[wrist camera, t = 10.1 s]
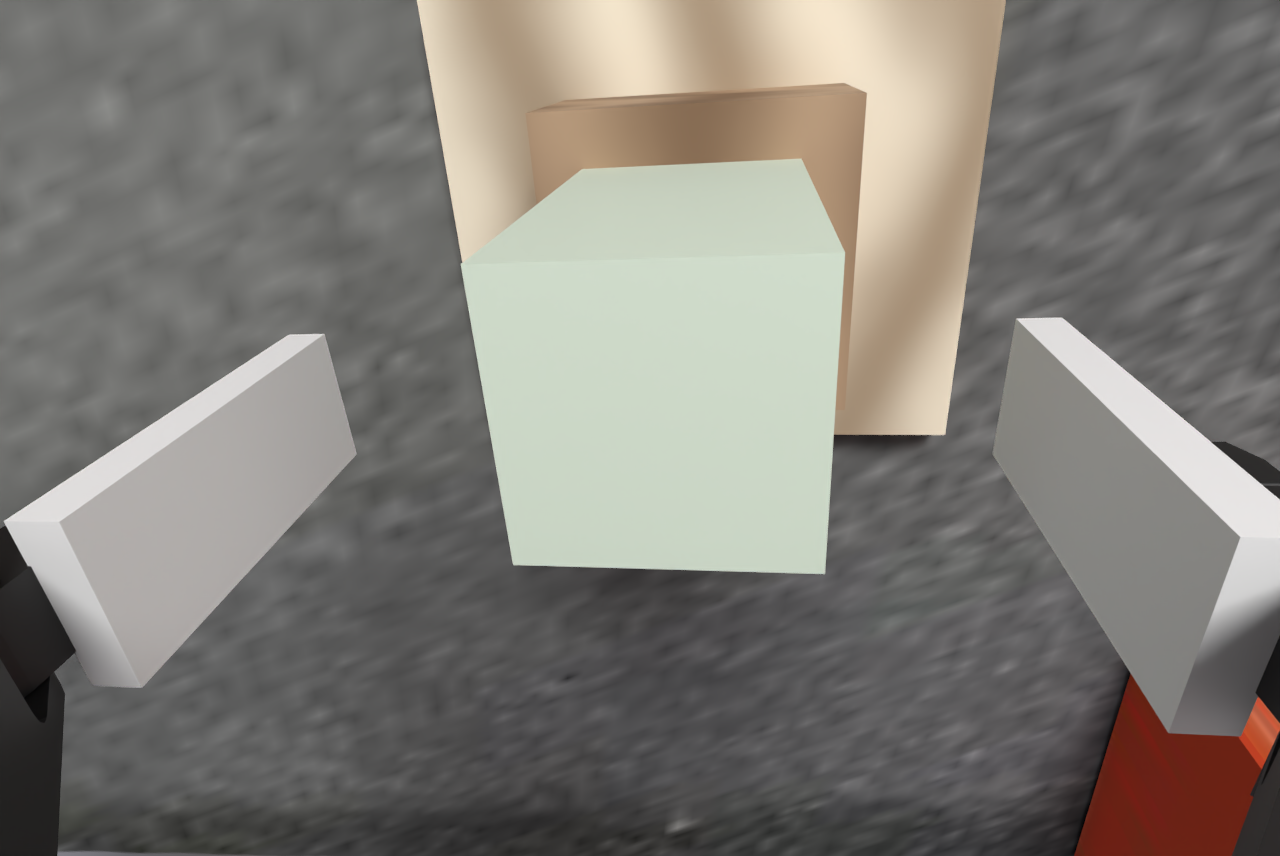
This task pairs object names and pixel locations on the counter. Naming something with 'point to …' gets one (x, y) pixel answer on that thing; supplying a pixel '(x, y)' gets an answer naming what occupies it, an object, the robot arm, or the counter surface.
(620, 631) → the counter surface
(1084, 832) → the file binder
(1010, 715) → the counter surface
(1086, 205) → the counter surface
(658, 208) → the sage pillar
